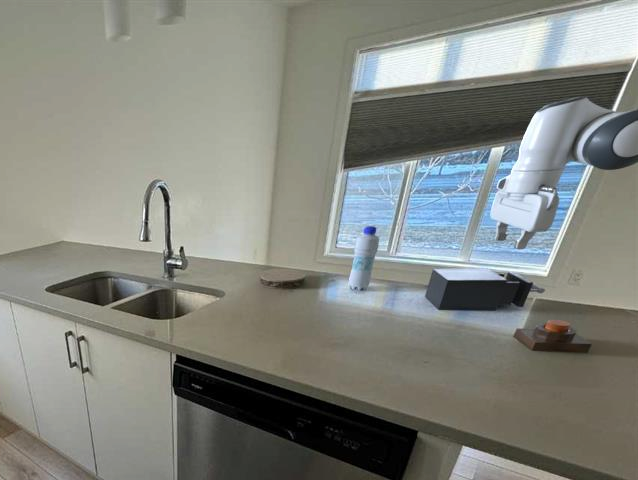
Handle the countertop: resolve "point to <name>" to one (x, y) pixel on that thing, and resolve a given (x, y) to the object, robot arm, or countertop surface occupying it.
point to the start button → (557, 326)
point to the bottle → (364, 259)
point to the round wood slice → (282, 278)
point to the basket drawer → (517, 289)
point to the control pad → (551, 340)
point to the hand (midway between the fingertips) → (508, 244)
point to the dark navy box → (465, 289)
